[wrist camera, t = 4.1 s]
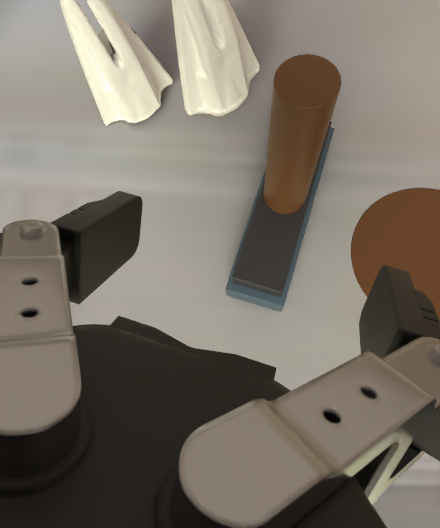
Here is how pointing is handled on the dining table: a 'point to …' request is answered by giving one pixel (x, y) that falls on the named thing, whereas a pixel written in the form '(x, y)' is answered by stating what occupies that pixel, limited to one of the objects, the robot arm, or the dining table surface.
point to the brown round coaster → (401, 240)
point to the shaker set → (151, 71)
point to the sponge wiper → (286, 180)
